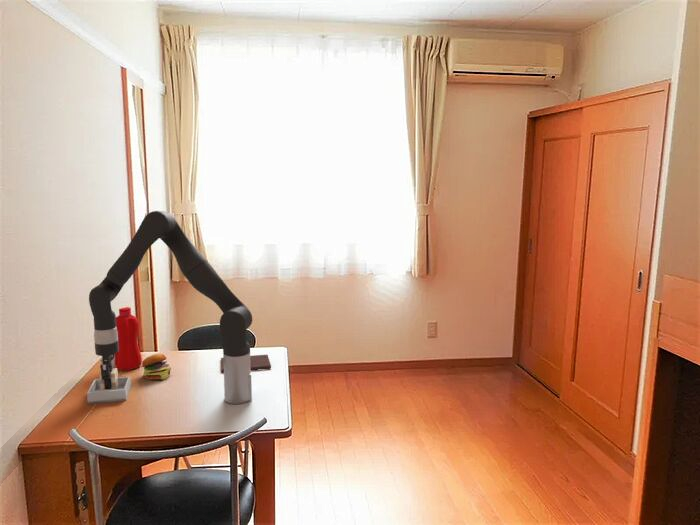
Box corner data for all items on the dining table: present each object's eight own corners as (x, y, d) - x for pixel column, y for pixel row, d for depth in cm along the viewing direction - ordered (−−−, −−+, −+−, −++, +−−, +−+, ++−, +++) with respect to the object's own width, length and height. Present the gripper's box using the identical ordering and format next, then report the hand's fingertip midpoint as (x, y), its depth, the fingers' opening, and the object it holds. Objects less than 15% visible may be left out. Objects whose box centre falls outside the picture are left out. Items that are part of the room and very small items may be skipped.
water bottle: (132, 360, 217) (128, 302, 213) (144, 366, 210) (141, 307, 206) (110, 366, 210) (106, 307, 206) (122, 372, 203) (118, 312, 199)
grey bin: (130, 386, 191) (130, 376, 190) (126, 400, 179) (125, 389, 178) (95, 389, 188) (94, 379, 187) (87, 404, 176) (86, 393, 175)
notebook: (221, 361, 219) (220, 356, 219) (267, 357, 224) (267, 353, 224) (221, 374, 205) (221, 369, 204) (271, 370, 210) (271, 365, 209)
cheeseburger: (154, 383, 193) (148, 358, 193) (139, 383, 200) (134, 358, 200) (177, 375, 201) (172, 350, 201) (162, 374, 208) (157, 351, 208)
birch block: (118, 383, 186) (117, 368, 185) (116, 389, 181) (114, 373, 180) (103, 385, 185) (102, 369, 183) (100, 390, 180) (99, 374, 179)
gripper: (114, 345, 174) (117, 392, 177) (121, 333, 188) (124, 377, 191) (90, 347, 172) (94, 395, 175) (98, 334, 186) (102, 378, 189)
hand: (109, 385), depth 183 cm, fingers closed on birch block, 5 cm apart
